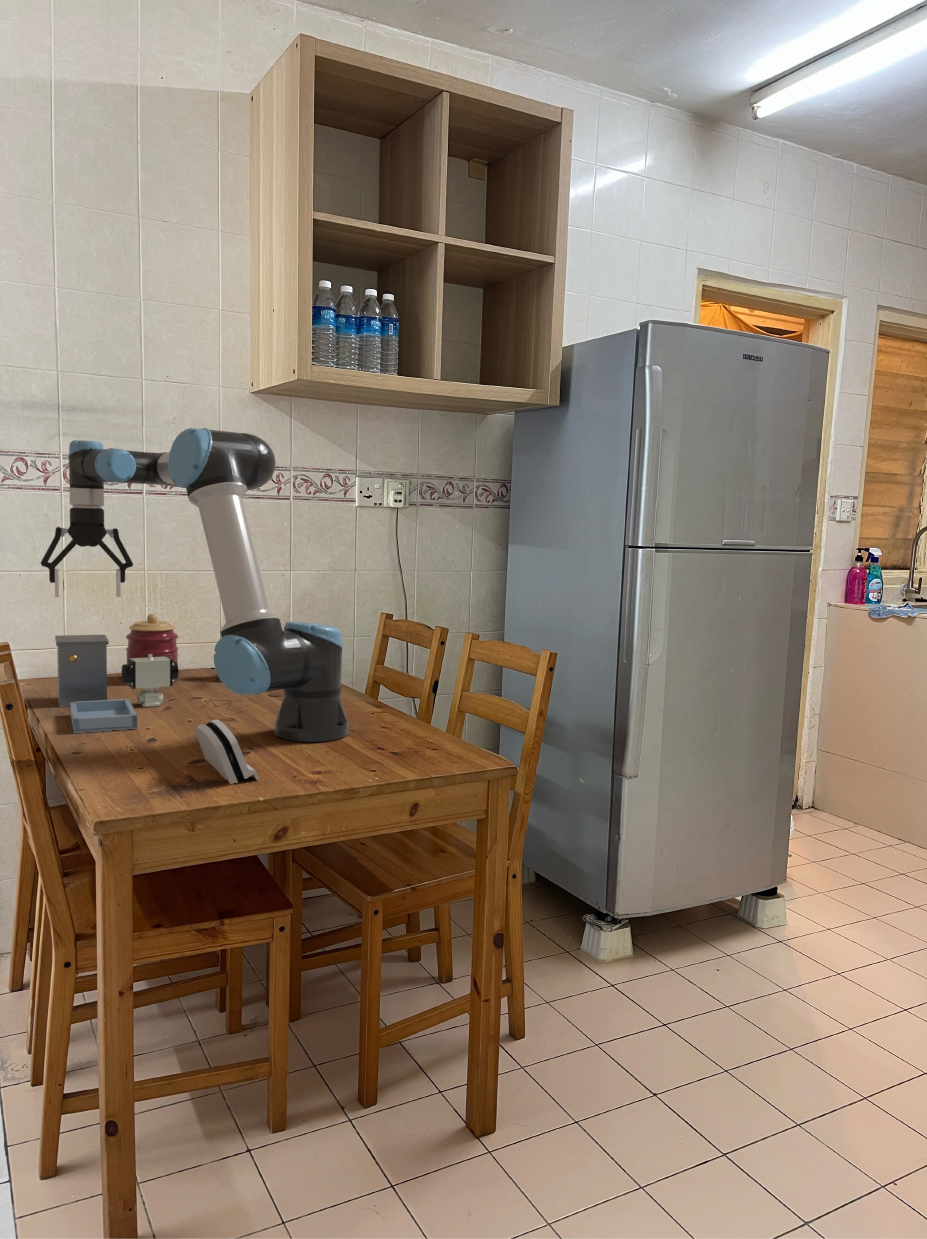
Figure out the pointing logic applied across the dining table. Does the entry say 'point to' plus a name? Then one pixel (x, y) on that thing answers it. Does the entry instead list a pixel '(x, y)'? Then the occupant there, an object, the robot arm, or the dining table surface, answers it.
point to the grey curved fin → (223, 751)
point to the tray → (102, 715)
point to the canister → (152, 639)
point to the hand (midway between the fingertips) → (88, 596)
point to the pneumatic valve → (150, 677)
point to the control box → (81, 668)
